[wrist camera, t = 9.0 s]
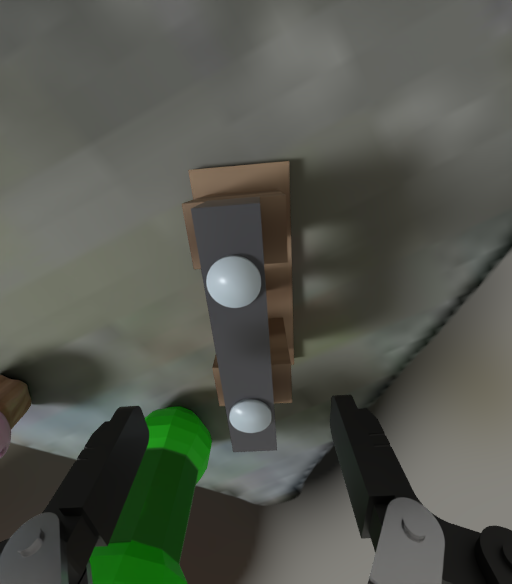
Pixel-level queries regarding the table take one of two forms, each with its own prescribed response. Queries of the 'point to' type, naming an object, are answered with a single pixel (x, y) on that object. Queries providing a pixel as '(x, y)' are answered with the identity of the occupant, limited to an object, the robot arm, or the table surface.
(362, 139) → the table surface
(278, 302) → the display stand
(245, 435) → the grey bar with knobs
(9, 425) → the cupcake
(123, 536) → the plastic bottle
